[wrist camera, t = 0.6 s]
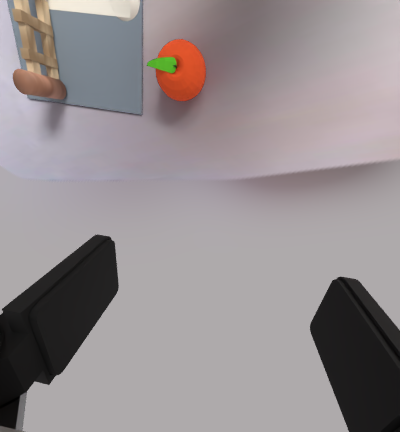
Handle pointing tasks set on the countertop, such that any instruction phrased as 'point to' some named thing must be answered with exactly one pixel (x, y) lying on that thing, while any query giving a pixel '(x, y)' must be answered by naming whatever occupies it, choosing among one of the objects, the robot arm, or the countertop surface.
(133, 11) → the card
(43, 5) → the fence panel
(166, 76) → the clementine
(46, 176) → the countertop surface
